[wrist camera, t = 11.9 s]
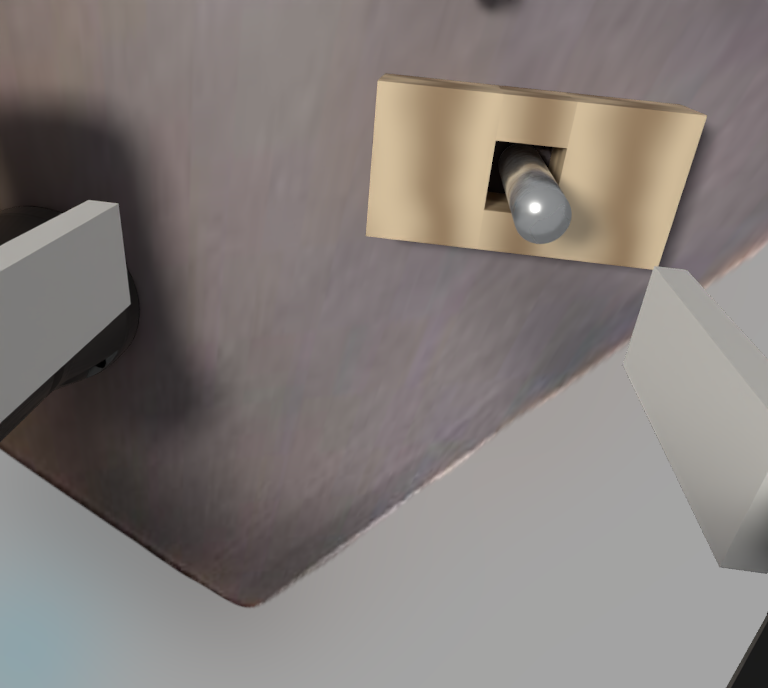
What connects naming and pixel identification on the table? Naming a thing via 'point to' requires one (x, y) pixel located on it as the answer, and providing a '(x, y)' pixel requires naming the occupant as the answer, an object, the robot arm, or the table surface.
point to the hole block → (567, 165)
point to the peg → (533, 195)
